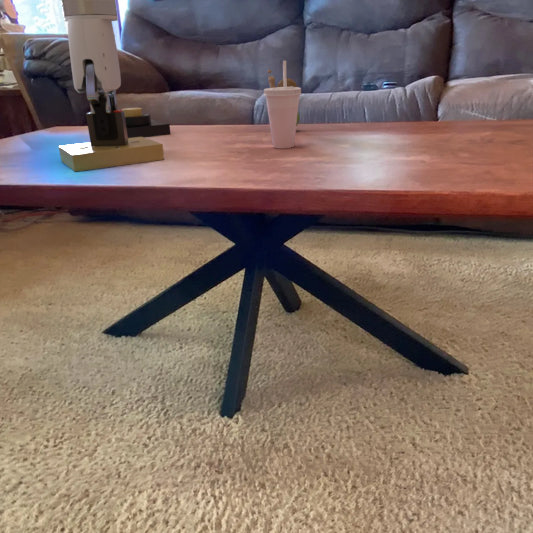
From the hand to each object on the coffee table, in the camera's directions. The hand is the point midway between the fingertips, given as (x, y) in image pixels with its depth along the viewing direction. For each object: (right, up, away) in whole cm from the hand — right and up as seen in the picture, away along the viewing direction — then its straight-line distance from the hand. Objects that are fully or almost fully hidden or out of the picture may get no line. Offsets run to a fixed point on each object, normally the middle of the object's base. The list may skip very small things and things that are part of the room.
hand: (109, 137), depth 81 cm
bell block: (-3, +7, +27) cm, 28 cm away
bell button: (-3, +11, +25) cm, 28 cm away
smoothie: (+28, 0, +8) cm, 29 cm away
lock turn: (0, -1, 0) cm, 1 cm away
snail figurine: (+29, +7, +25) cm, 39 cm away
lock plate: (0, -3, +1) cm, 4 cm away
